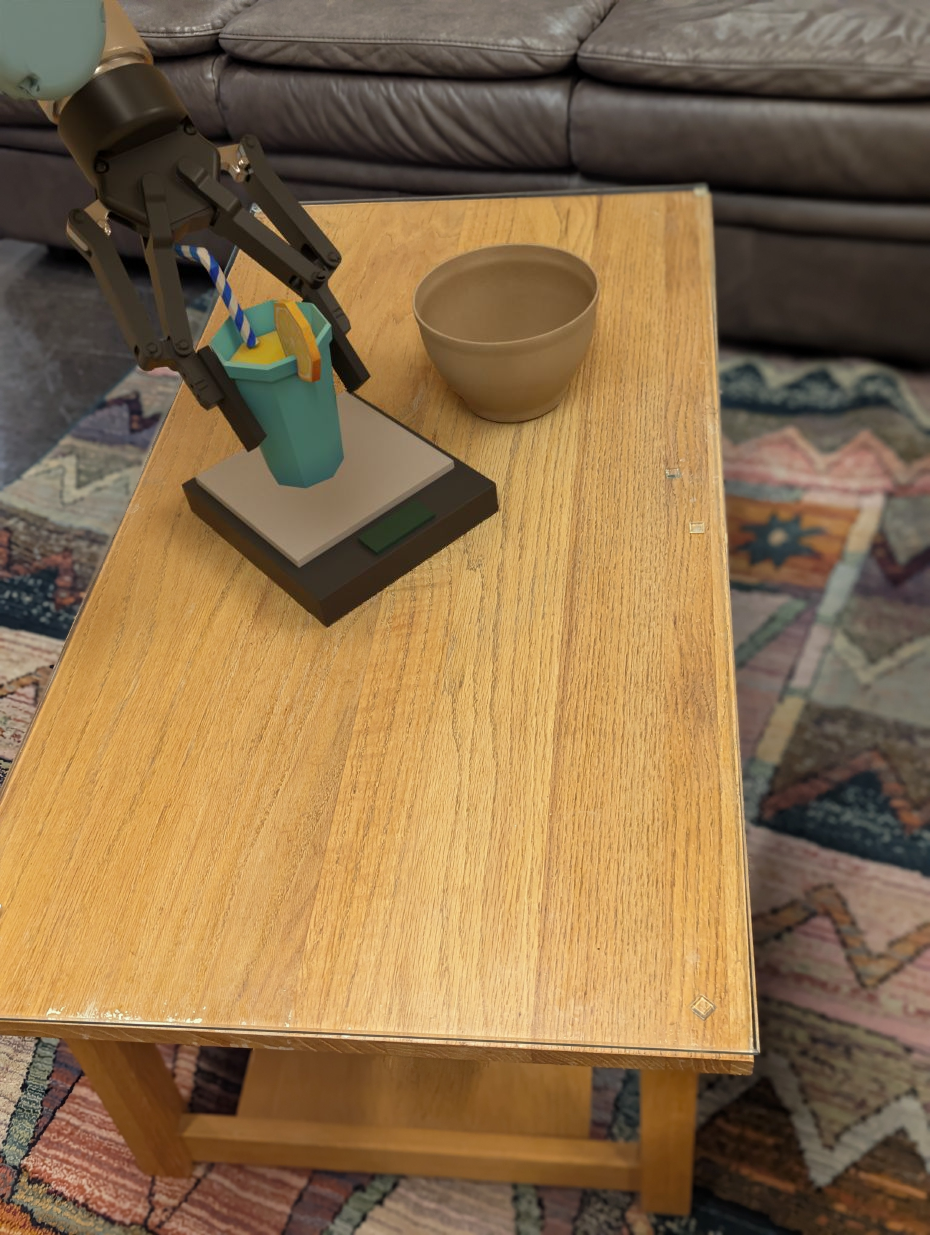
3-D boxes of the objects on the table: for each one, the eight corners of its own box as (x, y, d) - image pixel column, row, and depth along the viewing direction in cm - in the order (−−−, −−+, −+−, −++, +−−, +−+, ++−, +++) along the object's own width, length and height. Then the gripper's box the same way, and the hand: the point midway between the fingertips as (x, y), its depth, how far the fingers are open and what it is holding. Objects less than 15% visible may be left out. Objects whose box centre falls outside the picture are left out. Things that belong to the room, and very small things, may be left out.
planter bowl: (475, 332, 108) (464, 230, 100) (626, 362, 102) (627, 256, 94) (396, 425, 99) (377, 321, 91) (557, 465, 93) (551, 357, 85)
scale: (326, 627, 82) (317, 593, 80) (190, 510, 94) (178, 477, 91) (499, 510, 90) (495, 475, 87) (353, 414, 101) (346, 380, 98)
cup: (192, 454, 77) (119, 264, 66) (270, 397, 81) (214, 208, 70) (328, 529, 70) (273, 330, 59) (407, 463, 74) (369, 265, 63)
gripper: (231, 76, 74) (411, 363, 77) (-46, 188, 66) (166, 504, 69) (255, 6, 67) (451, 325, 70) (-51, 122, 59) (184, 476, 62)
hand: (309, 413), depth 70 cm, fingers closed on cup, 7 cm apart
